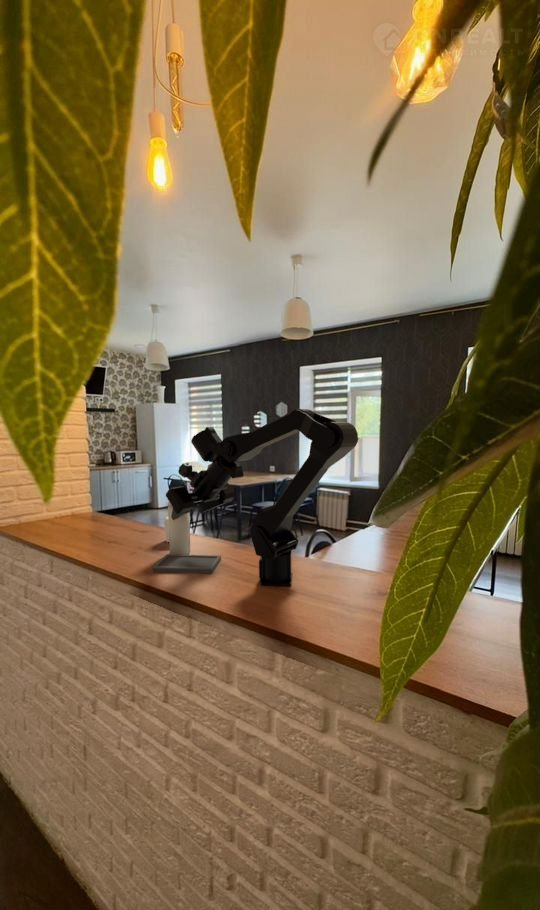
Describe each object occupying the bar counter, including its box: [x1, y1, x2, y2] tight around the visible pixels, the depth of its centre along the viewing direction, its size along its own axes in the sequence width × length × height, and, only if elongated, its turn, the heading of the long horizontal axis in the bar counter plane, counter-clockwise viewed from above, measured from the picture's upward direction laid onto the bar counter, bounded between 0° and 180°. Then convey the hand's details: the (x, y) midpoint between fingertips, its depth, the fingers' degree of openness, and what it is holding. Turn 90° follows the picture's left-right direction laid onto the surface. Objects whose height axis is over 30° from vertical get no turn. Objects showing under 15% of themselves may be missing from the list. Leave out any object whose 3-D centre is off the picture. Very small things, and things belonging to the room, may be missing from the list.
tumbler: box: [167, 501, 191, 555], centre depth 105 cm, size 6×6×14 cm
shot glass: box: [162, 515, 169, 543], centre depth 117 cm, size 7×7×7 cm
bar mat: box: [152, 553, 222, 574], centre depth 96 cm, size 14×9×1 cm, turn 84°
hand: (186, 515), depth 103 cm, fingers open, 9 cm apart
